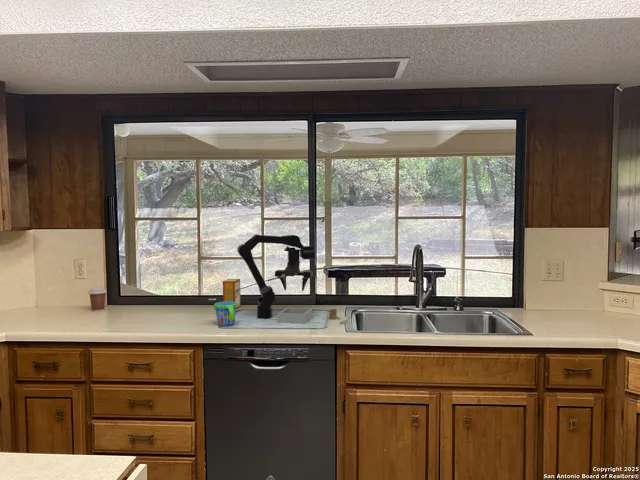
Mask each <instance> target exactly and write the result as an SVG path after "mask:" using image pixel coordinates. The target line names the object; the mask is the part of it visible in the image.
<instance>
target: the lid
mask: <svg viewBox="0 0 640 480" xmlns="http://www.w3.org/2000/svg"><path fill="white" fill-rule="evenodd" d="M328 311H329V312H328V315H329V317H328V319H329V320H332V321H333V320H334V321H335V320H337V321H338V323H339V325H346V324H347V323H348V321H349V320H350V316H338V315H337V308H329V310H328Z"/></svg>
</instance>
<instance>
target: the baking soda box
mask: <svg viewBox="0 0 640 480" xmlns="http://www.w3.org/2000/svg"><path fill="white" fill-rule="evenodd" d="M226 301H231V302H236V303H237V307H236V310H238V309H239V308H241V305H242V302H241V301H242V299H241V278H227V279H224V280H223V281H222V302H226Z"/></svg>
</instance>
